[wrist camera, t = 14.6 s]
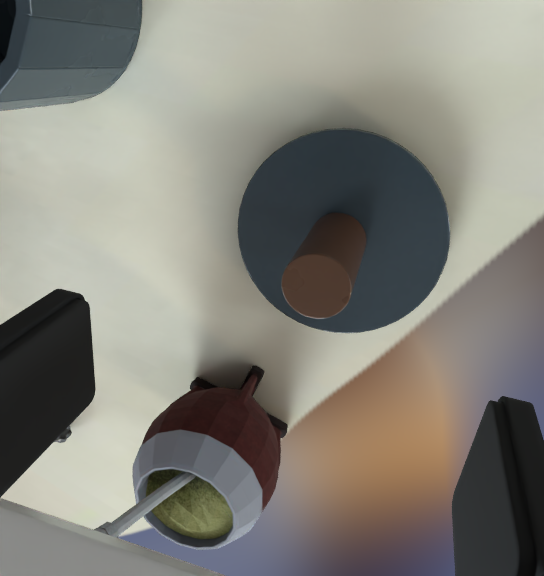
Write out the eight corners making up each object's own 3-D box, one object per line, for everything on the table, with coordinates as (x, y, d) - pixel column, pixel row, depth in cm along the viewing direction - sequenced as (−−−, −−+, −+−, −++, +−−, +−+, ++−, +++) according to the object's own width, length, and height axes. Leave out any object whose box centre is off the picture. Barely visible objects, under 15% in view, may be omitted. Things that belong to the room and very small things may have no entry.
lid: (253, 112, 23) (195, 128, 17) (475, 144, 21) (496, 175, 15) (237, 301, 27) (186, 367, 21) (420, 342, 25) (420, 426, 19)
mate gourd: (270, 469, 31) (160, 763, 18) (160, 410, 32) (-25, 655, 19) (320, 385, 28) (230, 674, 15) (196, 320, 28) (1, 543, 15)
